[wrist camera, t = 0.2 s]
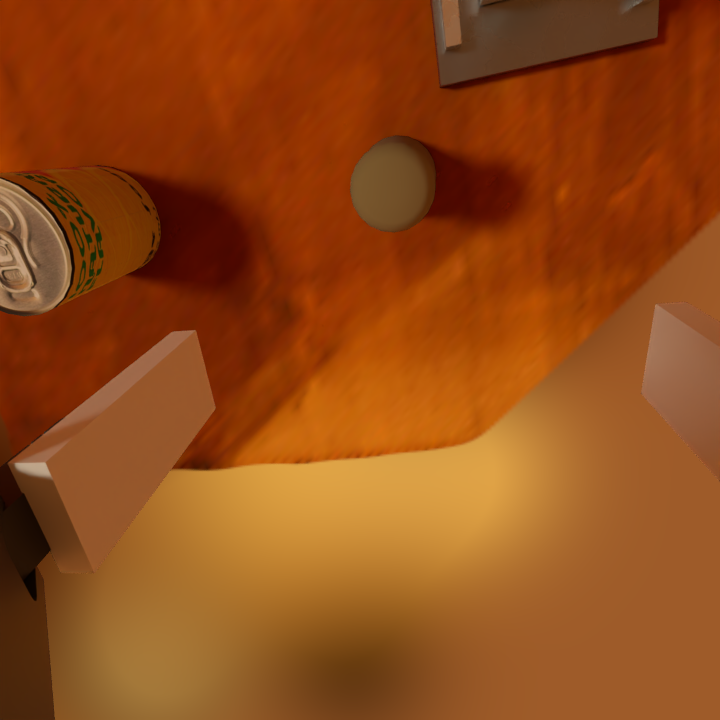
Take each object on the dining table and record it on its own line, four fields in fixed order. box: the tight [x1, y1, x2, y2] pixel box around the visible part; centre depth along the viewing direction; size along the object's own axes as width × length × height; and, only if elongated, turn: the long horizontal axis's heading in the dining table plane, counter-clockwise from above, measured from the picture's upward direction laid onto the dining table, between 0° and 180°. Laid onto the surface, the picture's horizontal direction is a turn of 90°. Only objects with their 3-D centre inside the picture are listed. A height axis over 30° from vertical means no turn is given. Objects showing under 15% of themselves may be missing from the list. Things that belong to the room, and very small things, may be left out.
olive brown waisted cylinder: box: [350, 136, 436, 232], centre depth 33 cm, size 6×6×11 cm
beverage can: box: [0, 165, 161, 316], centre depth 36 cm, size 9×9×12 cm
